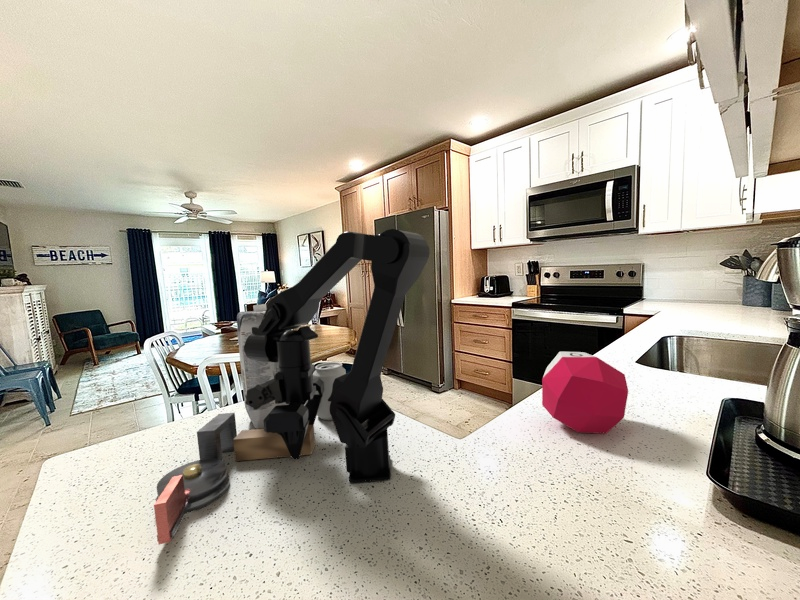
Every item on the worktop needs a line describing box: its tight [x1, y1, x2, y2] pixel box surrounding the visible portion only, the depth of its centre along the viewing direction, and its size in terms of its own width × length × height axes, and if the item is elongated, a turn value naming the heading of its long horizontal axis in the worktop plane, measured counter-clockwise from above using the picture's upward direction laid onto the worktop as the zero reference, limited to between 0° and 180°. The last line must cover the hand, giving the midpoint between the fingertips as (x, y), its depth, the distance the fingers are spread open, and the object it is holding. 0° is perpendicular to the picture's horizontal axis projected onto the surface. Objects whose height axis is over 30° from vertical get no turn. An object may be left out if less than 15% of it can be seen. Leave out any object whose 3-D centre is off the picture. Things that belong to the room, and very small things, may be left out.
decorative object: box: [541, 351, 629, 435], centre depth 64 cm, size 15×15×15 cm
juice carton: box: [236, 303, 289, 429], centre depth 76 cm, size 9×10×27 cm
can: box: [312, 361, 347, 421], centre depth 77 cm, size 8×8×12 cm
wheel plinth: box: [155, 471, 231, 515], centre depth 51 cm, size 10×10×1 cm
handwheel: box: [153, 458, 228, 545], centre depth 47 cm, size 16×9×5 cm, turn 17°
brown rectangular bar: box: [233, 424, 316, 462], centre depth 61 cm, size 14×4×4 cm, turn 93°
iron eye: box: [196, 412, 238, 461], centre depth 60 cm, size 3×8×7 cm, turn 2°
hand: (302, 446), depth 61 cm, fingers open, 8 cm apart
